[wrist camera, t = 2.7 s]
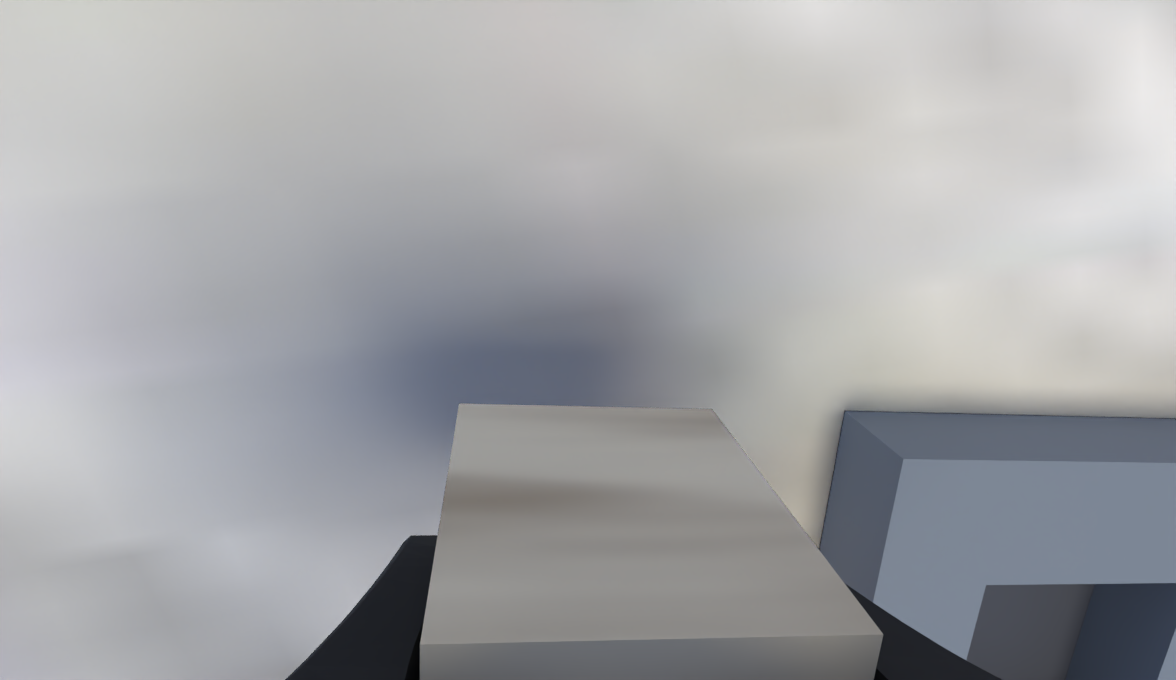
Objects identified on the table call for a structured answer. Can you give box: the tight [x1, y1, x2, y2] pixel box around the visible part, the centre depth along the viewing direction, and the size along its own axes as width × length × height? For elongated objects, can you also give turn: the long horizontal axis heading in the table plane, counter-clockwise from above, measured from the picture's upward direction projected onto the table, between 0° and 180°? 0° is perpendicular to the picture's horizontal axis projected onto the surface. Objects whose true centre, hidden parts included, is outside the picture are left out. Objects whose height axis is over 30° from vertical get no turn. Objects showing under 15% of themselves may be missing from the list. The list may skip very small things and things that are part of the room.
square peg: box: [420, 403, 883, 680], centre depth 10 cm, size 4×4×6 cm
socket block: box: [820, 411, 1176, 680], centre depth 21 cm, size 13×12×3 cm
